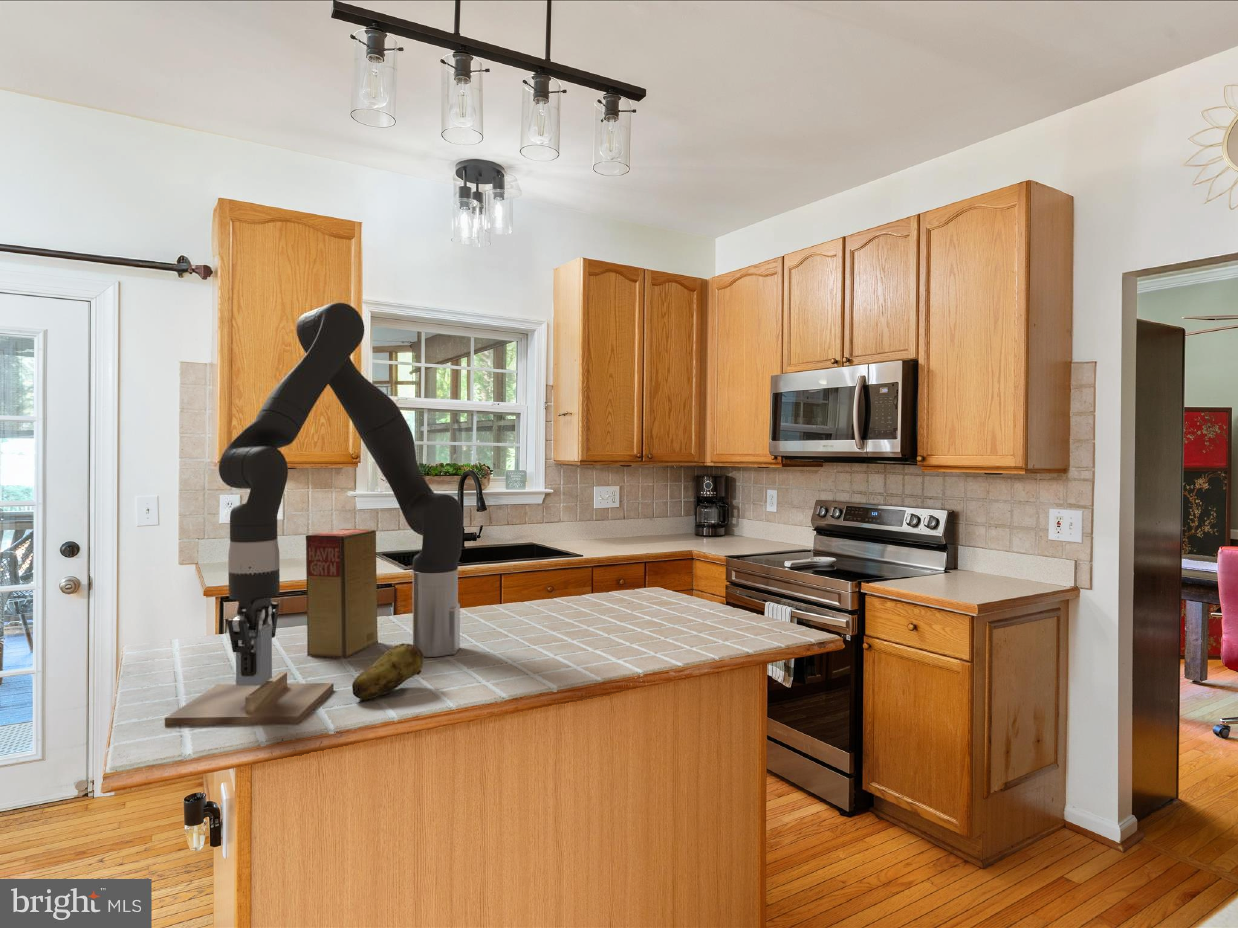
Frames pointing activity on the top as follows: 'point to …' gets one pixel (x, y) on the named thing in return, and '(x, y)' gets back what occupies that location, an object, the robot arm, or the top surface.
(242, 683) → the block
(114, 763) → the top surface
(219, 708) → the board
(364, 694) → the potato
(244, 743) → the top surface
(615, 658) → the top surface
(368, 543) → the food packaging
